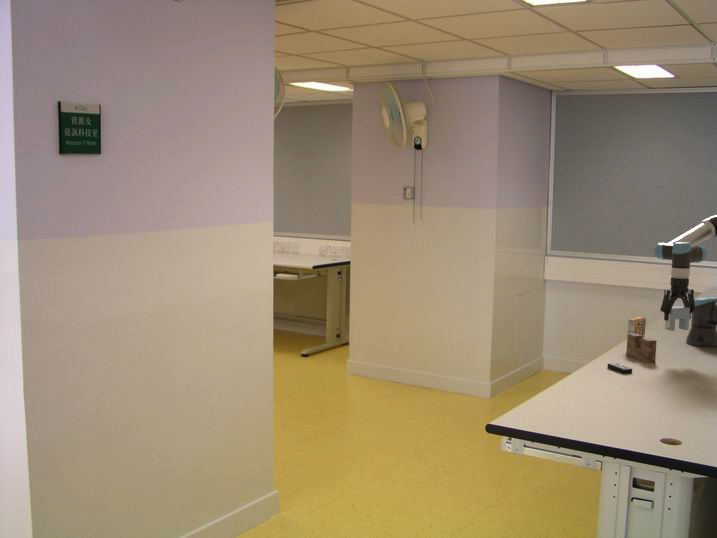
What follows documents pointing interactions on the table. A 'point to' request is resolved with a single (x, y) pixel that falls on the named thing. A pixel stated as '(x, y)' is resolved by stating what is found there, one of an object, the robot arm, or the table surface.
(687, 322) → the grey slotted block
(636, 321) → the candy box
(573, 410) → the table surface
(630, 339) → the walnut notched block
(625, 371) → the multiport hub
